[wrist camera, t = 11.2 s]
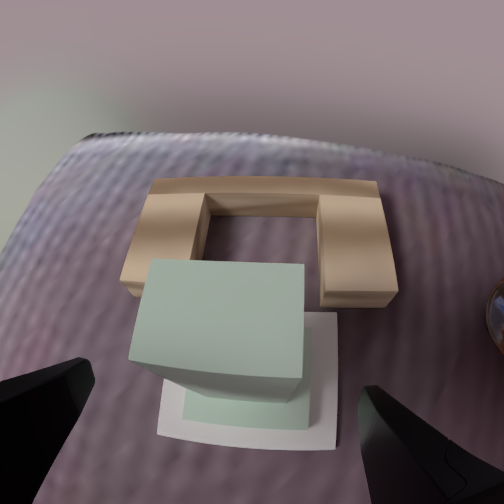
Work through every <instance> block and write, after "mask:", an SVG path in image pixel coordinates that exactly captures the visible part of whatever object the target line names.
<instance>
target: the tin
mask: <svg viewBox="0 0 504 504" xmlns="http://www.w3.org/2000/svg"><path fill="white" fill-rule="evenodd" d="M486 322H487V326H488V330H489V333H490V335H491V337H492V339H493V341H494V343H495V344H496V346H497V347H498V348H499V350H500V351H501V353H502V354H503V356H504V278H503V279H502V280H501V282H500V283H499V284H498V285H497V286H496V287H495V288H494V290H493V291H492V292H491V294H490V296H489V299H488V302H487V306H486Z"/></svg>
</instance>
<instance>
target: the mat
mask: <svg viewBox="0 0 504 504" xmlns="http://www.w3.org/2000/svg"><path fill="white" fill-rule="evenodd" d="M304 327H310V328H312V350H311V383H310V405H309V423H308V430H278V429H260V428H246V427H236V426H226V425H218V424H210V423H203V422H196V421H190V420H184V419H182V416H183V408H184V400H185V392H186V388H184V387H182V386H180V385H178V384H176V383H173V382H171V381H169V380H167V379H165V378H164V383H163V390H162V397H161V405H160V412H159V420H158V429H157V434H158V435H162V436H167V437H172V438H177V439H183V440H188V441H194V442H201V443H207V444H215V445H223V446H232V447H242V448H254V449H270V450H335V446H336V428H337V400H338V330H337V312H304Z"/></svg>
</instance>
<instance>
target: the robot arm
mask: <svg viewBox="0 0 504 504" xmlns="http://www.w3.org/2000/svg"><path fill="white" fill-rule="evenodd" d="M94 384H95V377H94V374H93V370H92V367H91V363H90V361H89V360H88V359H84V358H80V357H78V358H75V359H72V360H69V361H65V362H62V363H59V364H56V365H53V366H50V367H47V368H43V369H40V370H37V371H34V372H30V373H27V374H24V375H20V376H17V377H14V378H10V379H7V380H3V381H1V382H0V504H32V503H33V501H34V498H35V496H36V494H37V492H38V491H39V489H40V487H41V485H42V483H43V481H44V479H45V477H46V475H47V473H48V472H49V470H50V468H51V466H52V464H53V462H54V460H55V459H56V457H57V455H58V453H59V451H60V450H61V448H62V446H63V444H64V443H65V441H66V439H67V437H68V436H69V434H70V432H71V430H72V429H73V427H74V425H75V424H76V422H77V420H78V418H79V417H80V415H81V413H82V410H83V408H84V406H85V404H86V402H87V399H88V397H89V395H90V393H91V391H92V389H93V387H94ZM357 414H358V424H359V434H360V446H361V454H362V459H363V463H364V468H365V473H366V478H367V483H368V488H369V493H370V498H371V503H372V504H504V472H503V471H501V470H499V469H497V468H495V467H494V466H492V465H490V464H488V463H486V462H484V461H482V460H481V459H479V458H477V457H475V456H474V455H472V454H470V453H469V452H467V451H466V450H464V449H463V448H461V447H460V446H458V445H457V444H455V443H454V442H453V441H451V440H448V438H447V437H446V436H444V435H443V434H441V433H440V432H439V431H437V430H436V429H435V428H433V427H432V426H431V425H429V424H428V423H426V422H425V421H424V420H422V419H421V418H420V417H418V416H417V415H416V414H414V413H413V412H412V411H410V410H409V409H408V408H406V407H405V406H404V405H402V404H401V403H400V402H398V401H397V400H396V399H394V398H393V397H392V396H390V395H389V394H388V393H386V392H385V391H384V390H382V389H381V388H380V387H379V386H377V385H366V386H364V387H363V388H362V391H361V395H360V399H359V403H358V407H357Z"/></svg>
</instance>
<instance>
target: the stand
mask: <svg viewBox="0 0 504 504" xmlns="http://www.w3.org/2000/svg"><path fill="white" fill-rule="evenodd" d="M211 216H278V217H312V218H316V222H317V240H318V262H319V295H320V308H385V307H386V306H387V305H388V304H389V302H390V301H391V300H392V299H393V297H394V296H395V295H396V294H397V292H398V284H397V278H396V271H395V265H394V260H393V254H392V249H391V244H390V239H389V234H388V229H387V225H386V220H385V216H384V211H383V207H382V203H381V199H380V195H379V191H378V187H377V184H376V181H364V180H349V179H332V178H311V177H275V176H217V177H182V178H160V179H154V181H153V184H152V186H151V189H150V191H149V194H148V197H147V199H146V202H145V205H144V207H143V210H142V213H141V216H140V218H139V221H138V224H137V227H136V230H135V233H134V236H133V239H132V242H131V245H130V248H129V251H128V254H127V257H126V260H125V263H124V267H123V270H122V273H121V277H120V281H121V283H122V284H123V285H124V286H125V287H126V288H127V289H128V290H129V291H130V292H131V293H132V294H133V296H134V297H140V298H142V294H143V290H144V286H145V282H146V278H147V274H148V271H149V267H150V263H151V260H152V258H155V259H178V260H202V258H203V253H204V248H205V242H206V237H207V232H208V227H209V222H210V217H211Z"/></svg>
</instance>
